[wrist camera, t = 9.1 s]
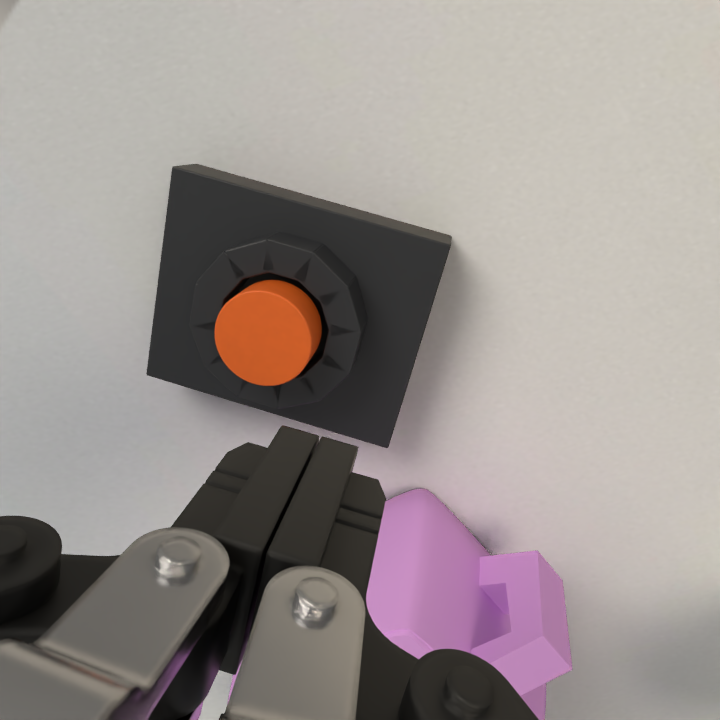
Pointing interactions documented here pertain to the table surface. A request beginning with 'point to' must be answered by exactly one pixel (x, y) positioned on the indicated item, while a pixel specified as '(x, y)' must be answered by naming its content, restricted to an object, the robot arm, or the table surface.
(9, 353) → the table surface
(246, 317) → the button
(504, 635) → the teapot
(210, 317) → the control box
